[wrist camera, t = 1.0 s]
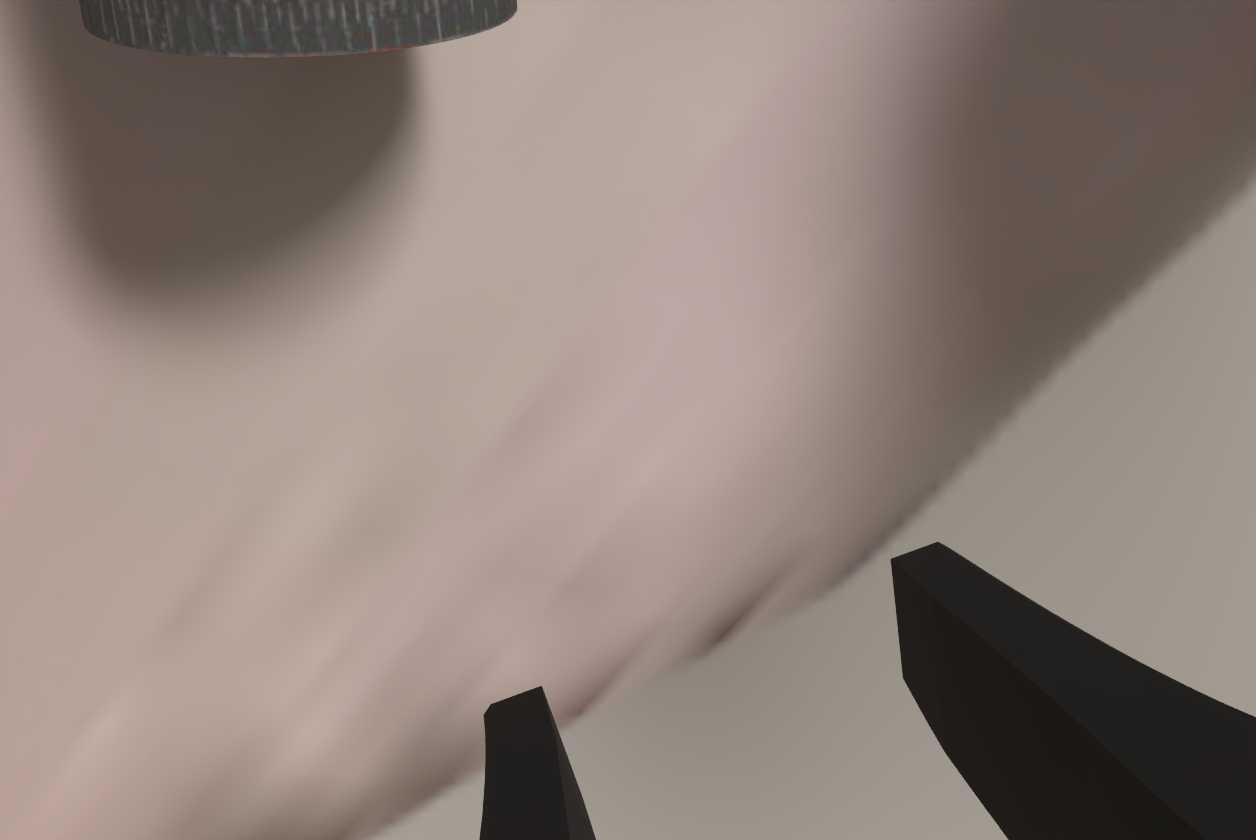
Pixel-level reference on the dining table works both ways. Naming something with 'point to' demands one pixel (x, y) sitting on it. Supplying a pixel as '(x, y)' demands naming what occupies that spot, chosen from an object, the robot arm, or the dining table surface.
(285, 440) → the dining table surface
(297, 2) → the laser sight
